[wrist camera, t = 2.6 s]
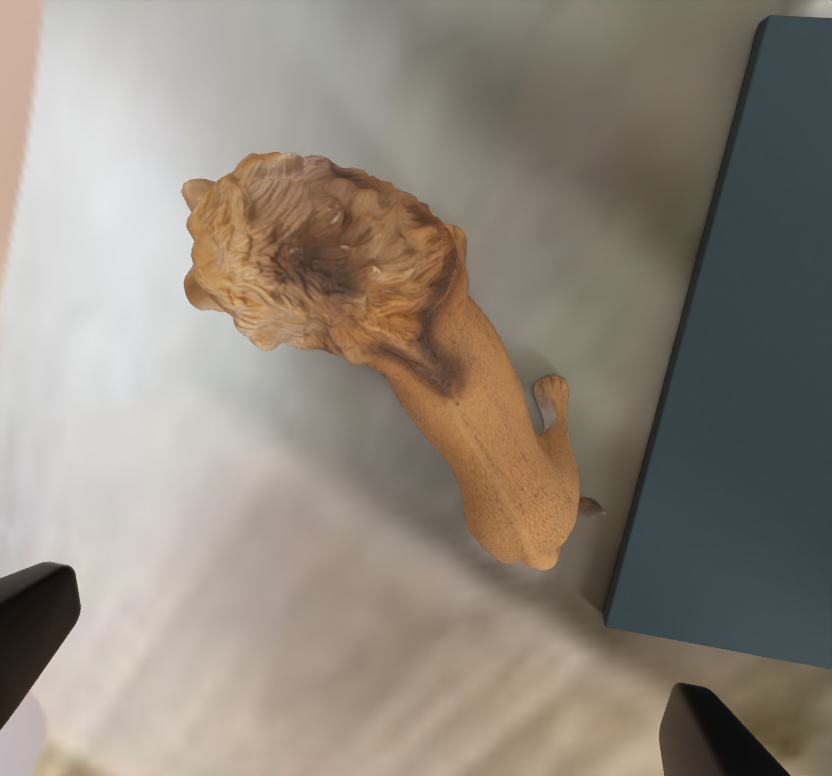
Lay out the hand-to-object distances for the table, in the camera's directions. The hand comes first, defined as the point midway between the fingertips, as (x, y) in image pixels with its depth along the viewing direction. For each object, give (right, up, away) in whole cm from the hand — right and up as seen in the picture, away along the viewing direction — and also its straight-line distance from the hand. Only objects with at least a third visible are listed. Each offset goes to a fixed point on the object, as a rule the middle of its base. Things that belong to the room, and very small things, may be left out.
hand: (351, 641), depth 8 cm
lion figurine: (+2, +5, +11) cm, 12 cm away
